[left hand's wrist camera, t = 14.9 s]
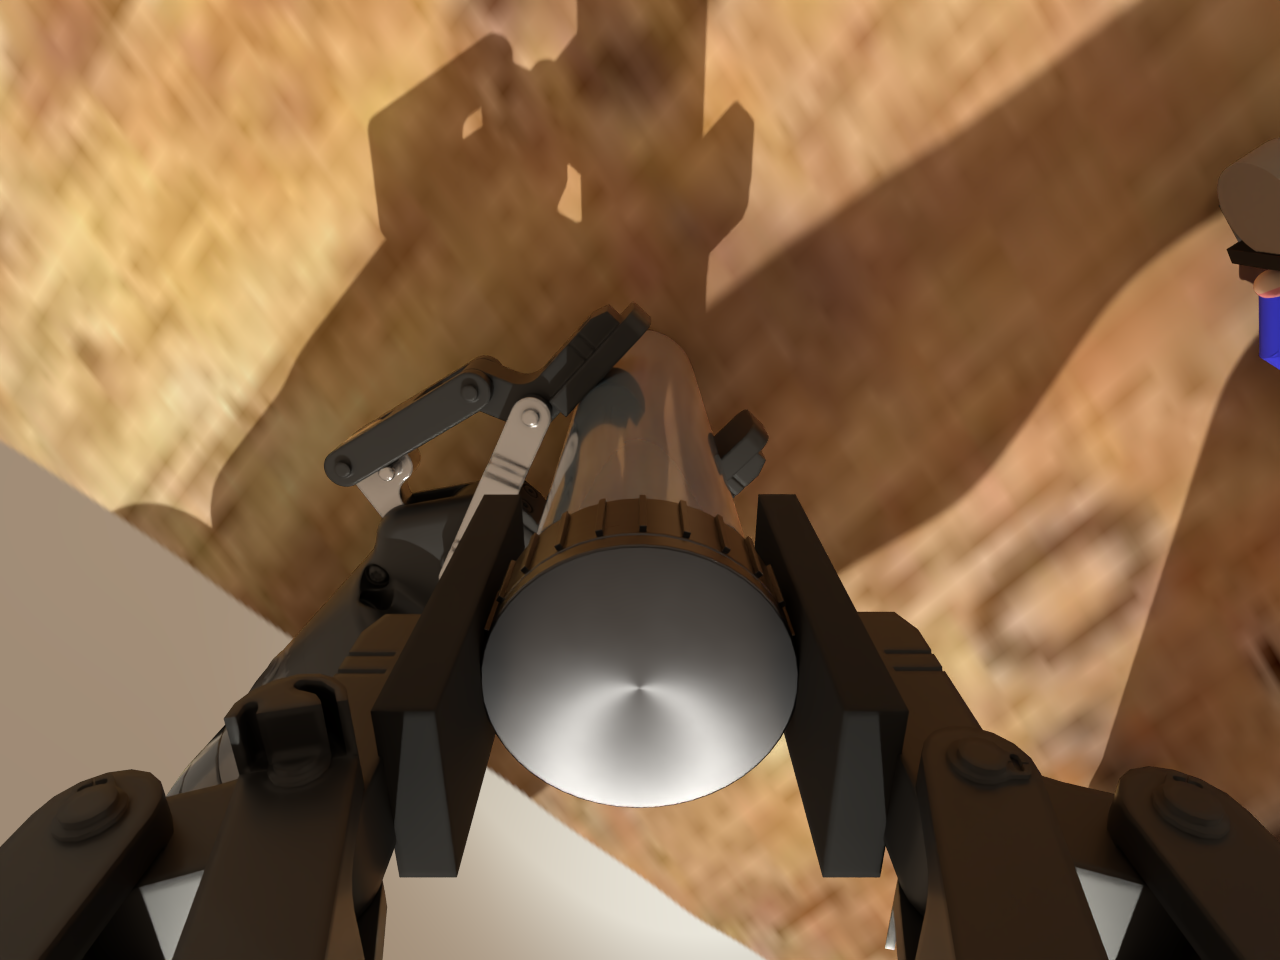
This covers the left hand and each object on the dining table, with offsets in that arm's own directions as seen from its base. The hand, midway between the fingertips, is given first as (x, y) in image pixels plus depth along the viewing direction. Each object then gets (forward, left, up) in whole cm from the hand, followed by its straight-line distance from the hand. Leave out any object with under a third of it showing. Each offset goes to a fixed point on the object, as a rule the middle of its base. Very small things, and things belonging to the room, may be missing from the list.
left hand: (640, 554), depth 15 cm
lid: (0, 0, +4) cm, 4 cm away
